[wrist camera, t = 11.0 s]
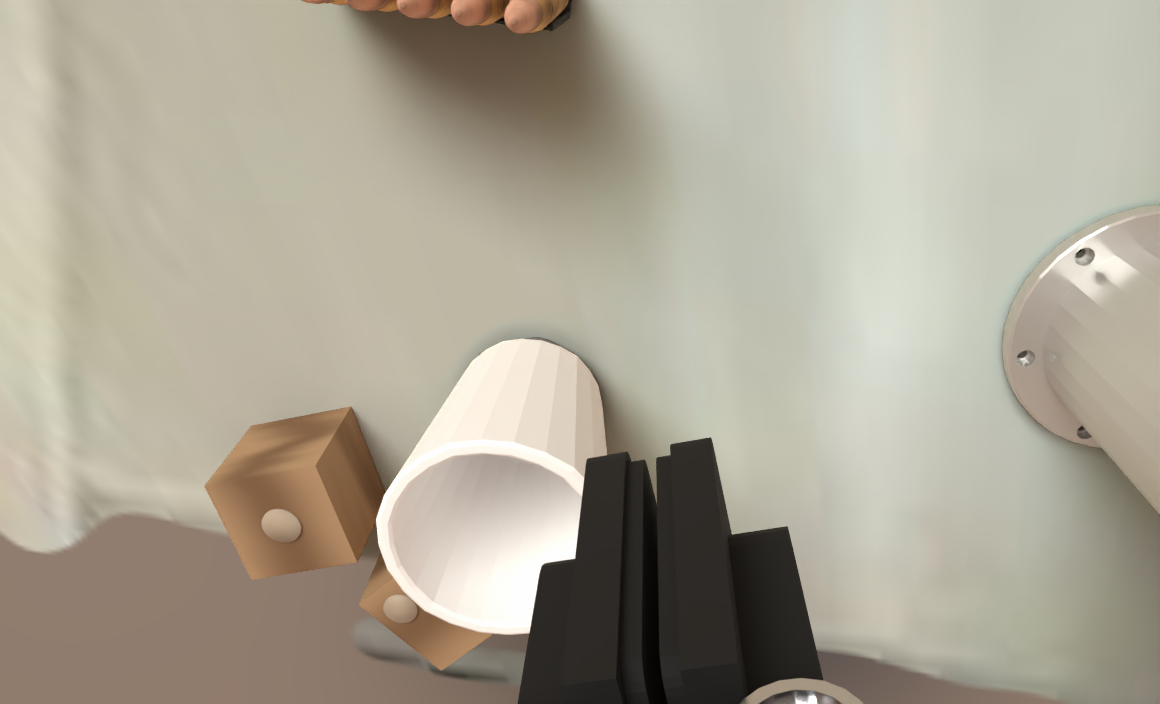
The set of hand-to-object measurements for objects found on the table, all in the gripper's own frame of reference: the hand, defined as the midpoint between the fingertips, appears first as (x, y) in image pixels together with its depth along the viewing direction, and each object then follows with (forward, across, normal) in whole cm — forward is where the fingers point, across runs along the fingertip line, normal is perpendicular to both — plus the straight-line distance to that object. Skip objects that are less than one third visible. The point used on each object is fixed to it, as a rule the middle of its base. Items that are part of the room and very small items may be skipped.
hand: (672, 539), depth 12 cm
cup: (+32, +10, +14) cm, 36 cm away
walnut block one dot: (+32, +22, +15) cm, 42 cm away
